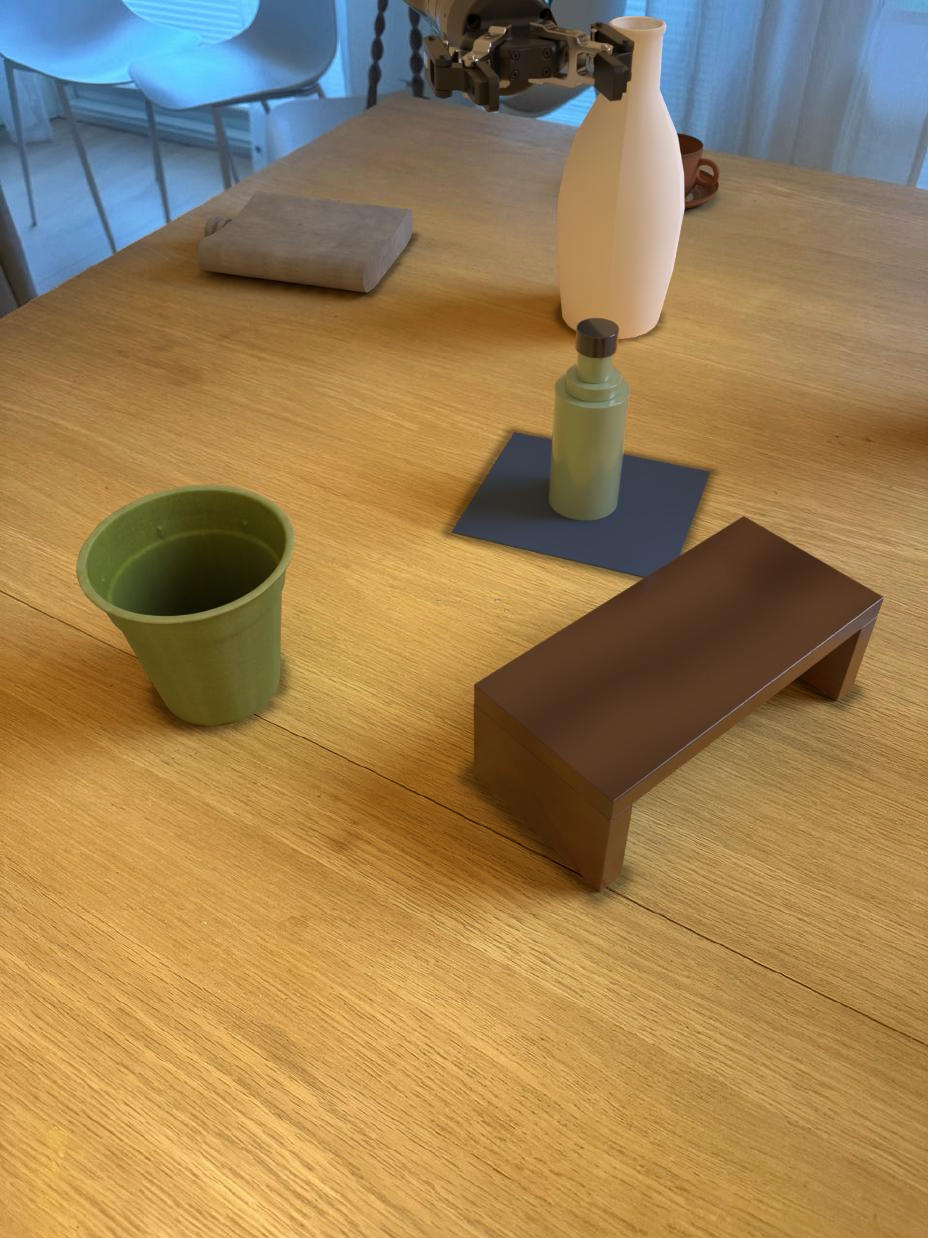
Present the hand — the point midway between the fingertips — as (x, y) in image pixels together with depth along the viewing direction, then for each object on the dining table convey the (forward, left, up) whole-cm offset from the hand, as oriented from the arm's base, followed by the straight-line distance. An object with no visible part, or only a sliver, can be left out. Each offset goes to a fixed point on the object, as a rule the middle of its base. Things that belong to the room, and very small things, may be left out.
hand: (557, 90), depth 69 cm
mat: (-6, +9, -26) cm, 28 cm away
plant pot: (+10, +35, -26) cm, 45 cm away
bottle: (0, -20, -26) cm, 33 cm away
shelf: (-17, +29, -26) cm, 43 cm away
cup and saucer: (+2, -51, -26) cm, 57 cm away
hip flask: (+23, -23, -24) cm, 41 cm away
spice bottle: (-6, +9, -25) cm, 28 cm away
